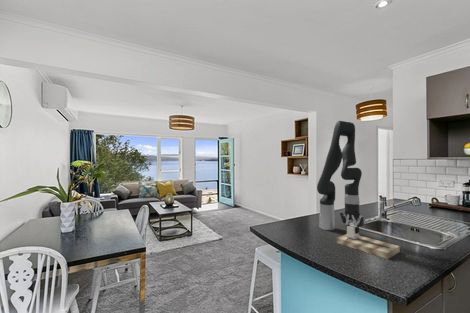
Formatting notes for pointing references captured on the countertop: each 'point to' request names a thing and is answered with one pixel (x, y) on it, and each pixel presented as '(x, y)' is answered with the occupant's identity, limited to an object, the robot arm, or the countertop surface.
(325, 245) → the countertop surface
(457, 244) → the countertop surface
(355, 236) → the white cube
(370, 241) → the wooden grid board
